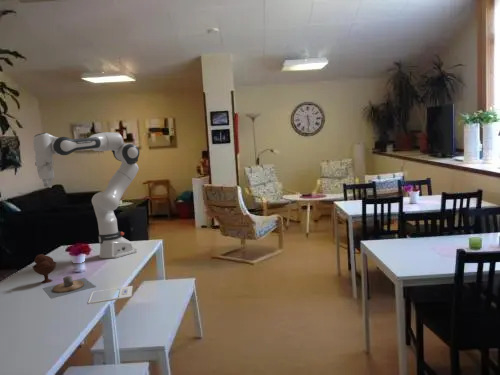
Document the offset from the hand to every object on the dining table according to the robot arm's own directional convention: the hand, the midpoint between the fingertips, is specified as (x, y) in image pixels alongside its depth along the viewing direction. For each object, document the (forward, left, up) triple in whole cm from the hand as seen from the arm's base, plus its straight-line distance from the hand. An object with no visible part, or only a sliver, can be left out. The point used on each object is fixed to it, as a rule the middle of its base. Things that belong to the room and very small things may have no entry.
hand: (48, 187), depth 243 cm
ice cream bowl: (+11, +24, -47) cm, 54 cm away
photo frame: (-7, +70, -47) cm, 85 cm away
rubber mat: (+5, +44, -47) cm, 65 cm away
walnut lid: (+5, +44, -46) cm, 64 cm away
